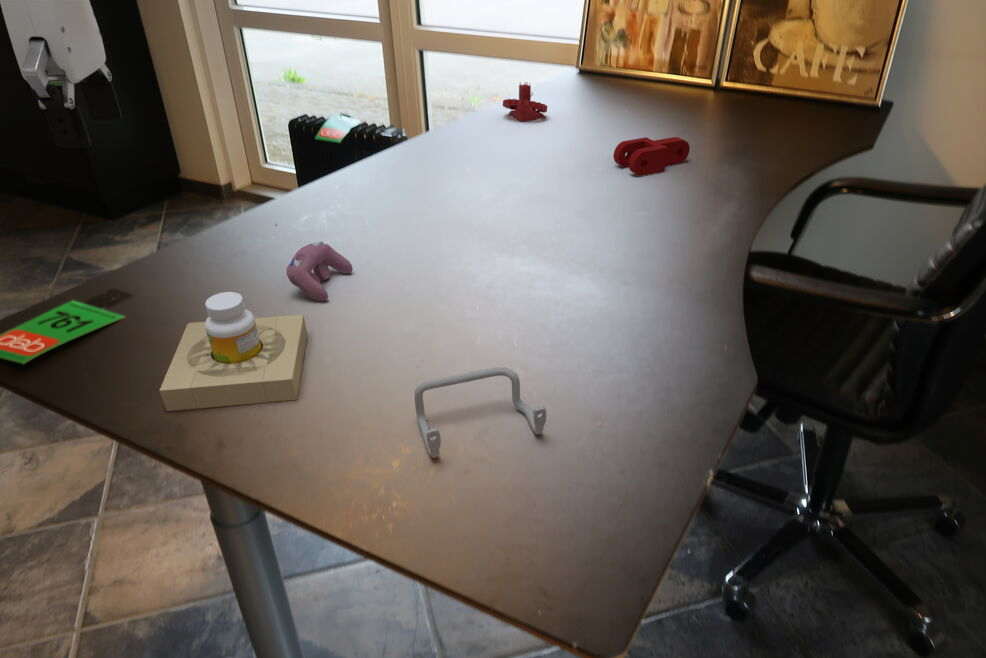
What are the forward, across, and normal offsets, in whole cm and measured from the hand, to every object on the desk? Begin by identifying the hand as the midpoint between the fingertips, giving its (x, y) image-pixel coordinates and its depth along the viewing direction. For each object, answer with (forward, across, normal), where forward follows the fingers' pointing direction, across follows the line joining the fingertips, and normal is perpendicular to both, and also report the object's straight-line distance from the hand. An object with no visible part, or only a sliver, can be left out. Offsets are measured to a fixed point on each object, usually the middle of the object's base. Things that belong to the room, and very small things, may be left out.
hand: (91, 132), depth 76 cm
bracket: (+25, +25, +40) cm, 54 cm away
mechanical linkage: (+24, -54, +83) cm, 102 cm away
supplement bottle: (+26, +10, +12) cm, 30 cm away
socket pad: (+26, +10, +12) cm, 30 cm away
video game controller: (+26, -10, +20) cm, 34 cm away
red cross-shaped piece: (+25, -90, +61) cm, 112 cm away
